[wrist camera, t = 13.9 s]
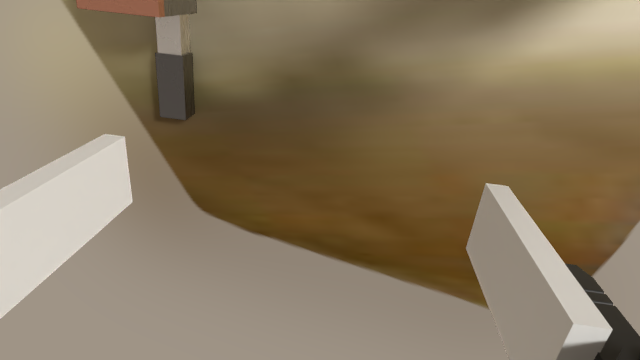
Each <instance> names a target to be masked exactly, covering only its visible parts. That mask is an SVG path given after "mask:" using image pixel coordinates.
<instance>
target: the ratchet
mask: <svg viewBox="0 0 640 360" xmlns="http://www.w3.org/2000/svg"><path fill="white" fill-rule="evenodd" d="M155 21H156V35H157V48H158V52H157V53H155V57H156V70H157V83H158V96H159V109H160V117H165V118H173V119H181V120H187V119H188V118H190V117H191V116H192V115H194V114H195V107H194V82H193V57H192V53H191V50H190V26H189V14H186V15H177V16H168V17H155Z"/></svg>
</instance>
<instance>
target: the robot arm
mask: <svg viewBox="0 0 640 360" xmlns="http://www.w3.org/2000/svg"><path fill="white" fill-rule="evenodd" d="M131 203H132V193H131V185H130V176H129V169H128V160H127V151H126V143H125V137H124V136H117V135H110V134H104V135H102V136H100V137H98V138H96V139H94V140H92V141H91V142H88V143H87V144H85V145H83V146H81V147H79V148H77V149H75V150H73V151H71V152H70V153H68V154H66V155H64V156H62V157H60V158H58V159H57V160H55V161H53V162H51V163H49V164H47V165H45V166H43V167H41V168H39V169H38V170H36V171H34V172H32V173H30V174H28V175H26V176H24V177H23V178H21V179H19V180H17V181H15V182H13V183H11V184H9V185H7V186H6V187H4V188H2V189H0V319H1V318H2V317H3V316H4V315H5V314H6V313H7V312H9V311H10V310H11V309H12V308H13V307H14V306H15V305H17V303H19V302H20V301H21V300H22V299H23V298H24V297H26V296H27V295H28V294H29V293H30V292H31V291H32V290H33V289H35V288H36V287H37V286H38V285H39V284H40V283H41V282H42V281H44V280H45V279H46V278H47V277H48V276H49V275H50V274H52V272H54V271H55V270H56V269H57V268H58V267H59V266H61V265H62V264H63V263H64V262H65V261H66V260H67V259H69V258H70V257H71V256H72V255H73V254H74V253H75V252H77V251H78V250H79V249H80V248H81V247H82V246H83V245H84V244H86V243H87V242H88V241H89V240H90V239H91V238H92V237H93V236H95V235H96V234H97V233H98V232H99V231H100V230H101V229H103V228H104V227H105V226H106V225H107V224H108V223H109V222H110V221H112V219H114V218H115V217H116V216H117V215H118V214H119V213H120V212H122V211H123V210H124V209H125V208H126V207H127V206H129V205H130V204H131ZM466 250H467V252H468V255H469V257H470V260H471V263H472V265H473V268H474V270H475V273H476V275H477V278H478V281H479V283H480V286H481V288H482V291H483V294H484V296H485V299H486V301H487V304H488V306H489V309H490V312H491V314H492V316H493V319H494V321H495V324H496V327H497V330H498V332H499V335H500V337H501V340H502V342H503V345H504V348H505V350H506V353H507V355H508V358H509V360H640V336H639V335H638V334H637V333H636V331H635V330H634V329H633V328H632V326H631V325H630V324H629V322H628V321H627V320H626V319H625V317H624V316H623V315H622V314H621V312H620V311H619V310H618V309H617V307H615V306H613V303H612V301H611V300H610V299H609V298H608V296H607V295H606V294H604V291H603V290H602V289H601V287H600V286H599V285H598V284H597V282H596V281H595V280H594V278H592V277H591V276H590V275H588V274H587V273H586V272H584V271H583V270H582V269H581V268H579V267H578V266H577V265H571V264H565V263H564V262H563V261H562V259H561V258H560V257H559V255H558V254H557V253H556V251H555V250H554V248H553V247H552V246H551V244H550V243H549V242H548V240H547V239H546V237H545V236H544V235H543V233H542V232H541V231H540V229H539V228H538V227H537V225H536V224H535V222H534V221H533V220H532V218H531V217H530V216H529V214H528V213H527V212H526V210H525V209H524V207H523V206H522V205H521V203H520V202H519V201H518V199H517V198H516V196H515V195H514V194H513V192H512V191H511V190H510V188H509V187H508V186H502V185H495V184H487V183H486V184H485V187H484V191H483V194H482V197H481V201H480V204H479V207H478V211H477V214H476V217H475V221H474V224H473V227H472V230H471V234H470V237H469V240H468V244H467V247H466Z"/></svg>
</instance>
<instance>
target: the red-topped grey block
mask: <svg viewBox="0 0 640 360" xmlns="http://www.w3.org/2000/svg"><path fill="white" fill-rule="evenodd" d="M76 3H77V8H80V9H89V10H97V11H106V12H115V13H124V14H133V15H142V16H151V17H168V16H177V15H186V14H195V13H197V5H196V0H76Z"/></svg>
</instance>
